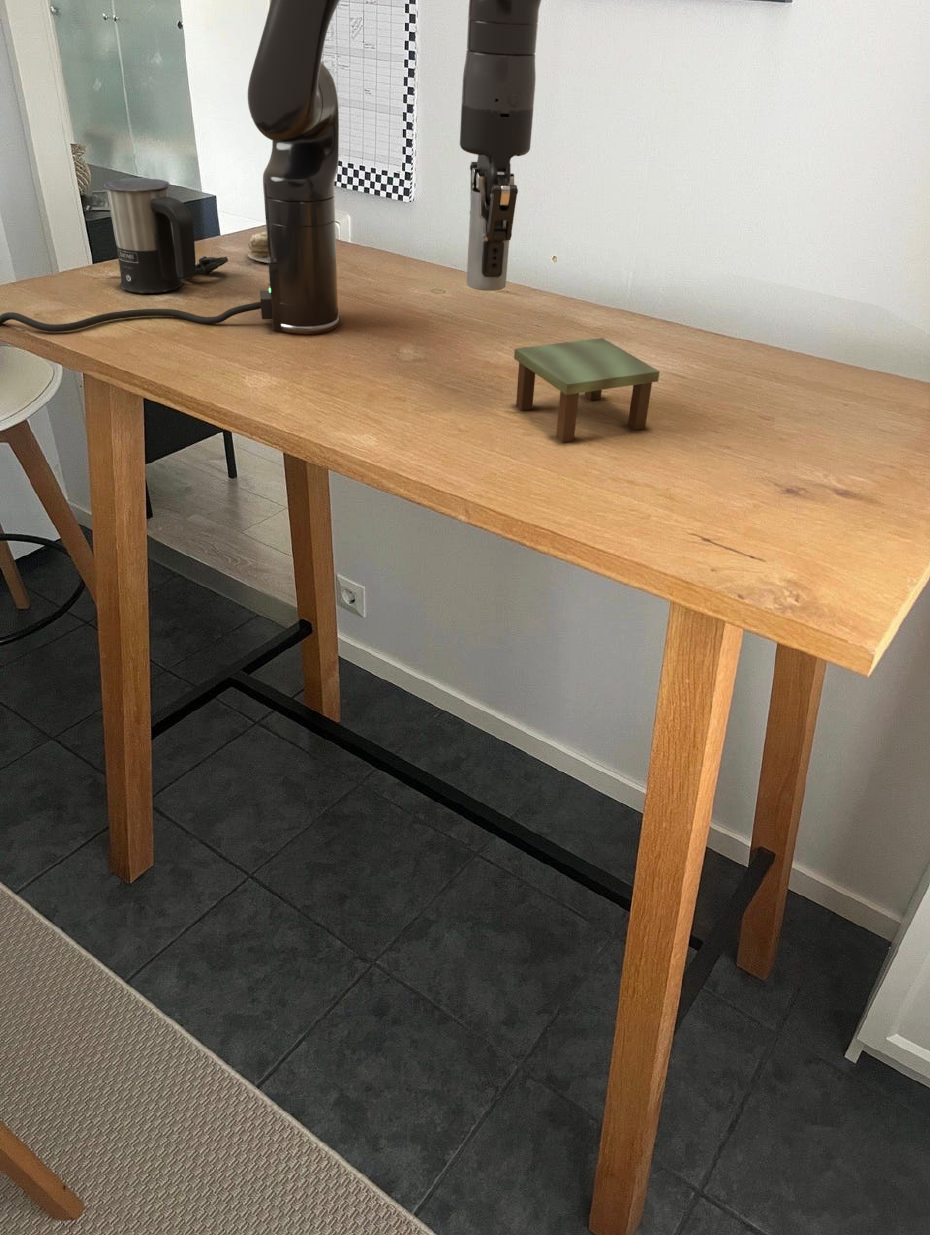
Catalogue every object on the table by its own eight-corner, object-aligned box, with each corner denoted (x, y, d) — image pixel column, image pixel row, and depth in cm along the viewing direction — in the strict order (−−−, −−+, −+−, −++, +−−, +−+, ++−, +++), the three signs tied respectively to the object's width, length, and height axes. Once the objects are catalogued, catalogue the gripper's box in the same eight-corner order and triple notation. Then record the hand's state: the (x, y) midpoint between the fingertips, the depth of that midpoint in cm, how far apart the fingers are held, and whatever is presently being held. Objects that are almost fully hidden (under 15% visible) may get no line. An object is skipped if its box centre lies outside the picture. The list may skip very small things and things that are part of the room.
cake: (267, 251, 174) (267, 218, 171) (317, 260, 171) (317, 227, 168) (235, 258, 166) (234, 224, 163) (286, 268, 163) (286, 233, 160)
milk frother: (108, 291, 149) (91, 186, 140) (158, 265, 161) (145, 167, 153) (195, 301, 146) (183, 195, 138) (239, 274, 159) (230, 175, 151)
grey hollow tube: (464, 279, 114) (469, 184, 109) (503, 280, 115) (510, 186, 109) (467, 290, 111) (473, 193, 105) (507, 292, 111) (515, 195, 105)
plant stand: (560, 445, 109) (567, 384, 105) (510, 405, 118) (514, 348, 114) (650, 429, 113) (659, 371, 109) (595, 393, 122) (602, 337, 118)
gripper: (450, 91, 107) (444, 253, 117) (475, 110, 96) (465, 288, 105) (517, 94, 109) (505, 253, 118) (549, 113, 97) (533, 288, 107)
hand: (487, 269), depth 112 cm, fingers closed on grey hollow tube, 4 cm apart
